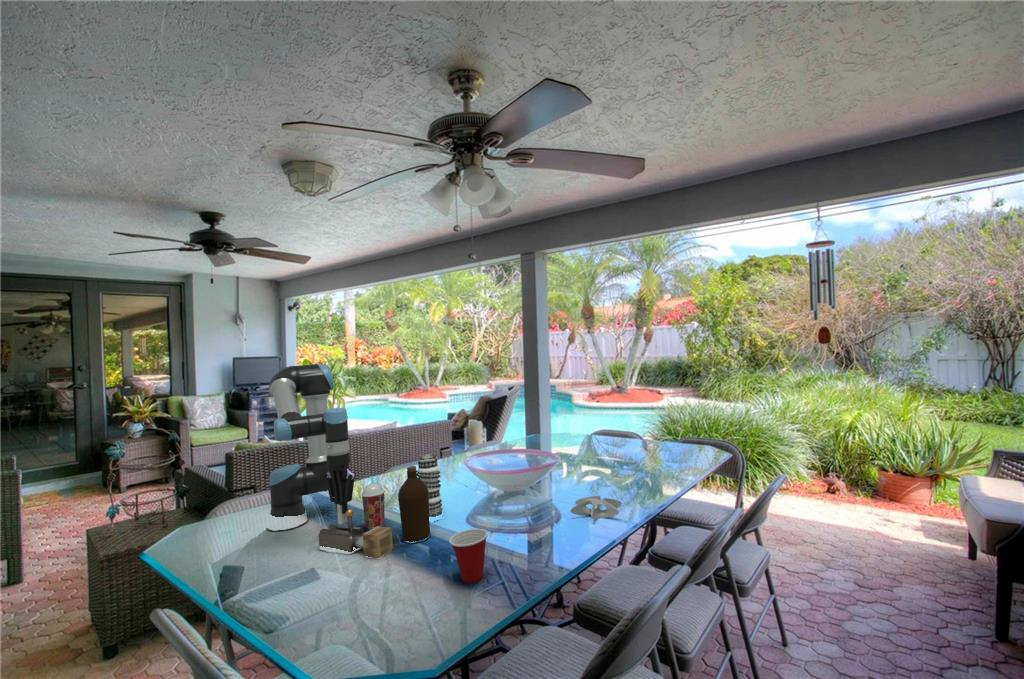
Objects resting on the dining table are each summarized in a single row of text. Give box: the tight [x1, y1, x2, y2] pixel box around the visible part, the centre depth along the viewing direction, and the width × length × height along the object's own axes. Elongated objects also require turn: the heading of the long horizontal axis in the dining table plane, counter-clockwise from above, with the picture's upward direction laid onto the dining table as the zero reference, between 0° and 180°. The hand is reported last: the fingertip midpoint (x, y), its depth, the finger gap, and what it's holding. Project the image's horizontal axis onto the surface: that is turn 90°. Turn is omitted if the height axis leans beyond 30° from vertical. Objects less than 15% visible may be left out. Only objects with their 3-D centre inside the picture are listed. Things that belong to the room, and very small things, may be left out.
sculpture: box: [569, 495, 623, 520], centre depth 170 cm, size 18×20×6 cm
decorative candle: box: [416, 453, 443, 517], centre depth 181 cm, size 9×9×25 cm
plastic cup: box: [449, 528, 488, 584], centre depth 129 cm, size 11×11×12 cm
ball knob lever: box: [345, 508, 364, 550], centre depth 154 cm, size 16×4×12 cm, turn 66°
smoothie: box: [361, 475, 386, 528], centre depth 175 cm, size 8×8×20 cm
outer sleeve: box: [318, 524, 365, 552], centre depth 158 cm, size 14×6×7 cm, turn 66°
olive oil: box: [397, 465, 431, 542], centre depth 162 cm, size 11×11×25 cm
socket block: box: [363, 526, 394, 559], centre depth 152 cm, size 6×7×8 cm
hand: (342, 522), depth 158 cm, fingers closed
